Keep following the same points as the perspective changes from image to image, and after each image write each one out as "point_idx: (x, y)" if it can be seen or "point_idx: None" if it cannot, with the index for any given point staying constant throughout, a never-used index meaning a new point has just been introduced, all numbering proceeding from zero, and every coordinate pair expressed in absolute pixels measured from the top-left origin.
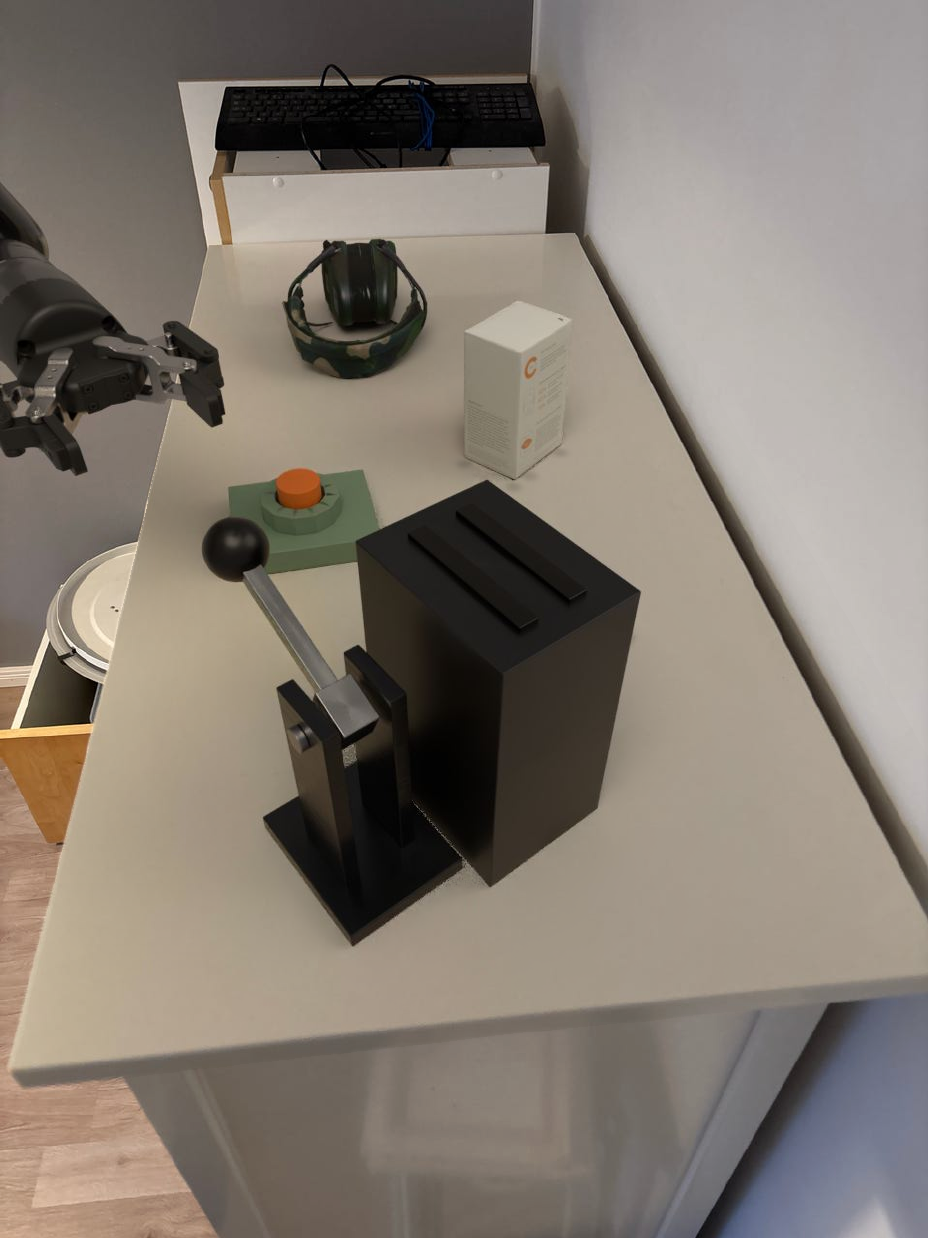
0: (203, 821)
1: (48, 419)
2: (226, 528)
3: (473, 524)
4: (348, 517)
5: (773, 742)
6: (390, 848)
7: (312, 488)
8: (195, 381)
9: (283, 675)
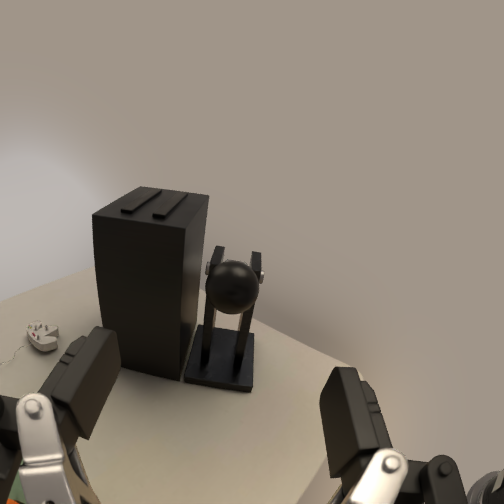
0: (275, 413)
1: (371, 436)
2: (241, 264)
3: (138, 206)
4: (14, 486)
5: (80, 282)
6: (216, 343)
7: (11, 500)
8: (79, 365)
9: (170, 459)
